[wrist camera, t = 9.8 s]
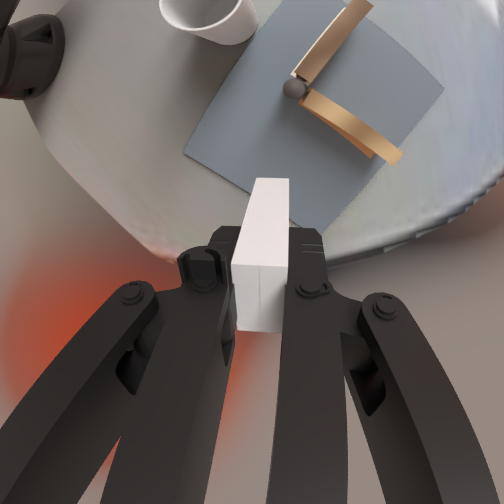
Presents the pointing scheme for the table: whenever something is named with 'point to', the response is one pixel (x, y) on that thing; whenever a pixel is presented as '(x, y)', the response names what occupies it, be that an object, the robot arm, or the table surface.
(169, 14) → the mug
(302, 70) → the base
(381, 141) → the wooden board
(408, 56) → the card
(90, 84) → the table surface
